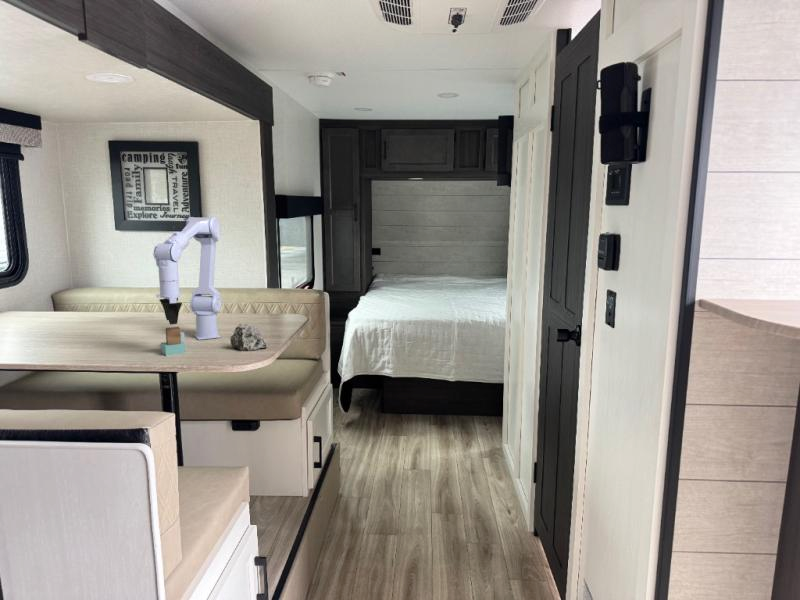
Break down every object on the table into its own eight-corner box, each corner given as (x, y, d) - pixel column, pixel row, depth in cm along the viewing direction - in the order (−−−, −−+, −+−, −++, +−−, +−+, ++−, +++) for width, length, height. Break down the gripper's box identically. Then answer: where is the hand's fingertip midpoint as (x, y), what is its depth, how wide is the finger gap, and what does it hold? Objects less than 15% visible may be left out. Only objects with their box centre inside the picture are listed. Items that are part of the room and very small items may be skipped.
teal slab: (161, 353, 175) (161, 342, 175) (180, 350, 179) (180, 340, 178) (166, 357, 171) (165, 346, 170) (185, 354, 174) (184, 343, 174)
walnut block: (166, 342, 175) (165, 327, 174) (179, 341, 177) (178, 326, 176) (167, 344, 172) (167, 329, 171) (181, 343, 174) (180, 328, 173)
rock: (232, 359, 173) (250, 335, 172) (220, 340, 179) (237, 318, 178) (261, 366, 184) (278, 344, 183) (249, 348, 190) (266, 327, 188)
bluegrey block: (168, 347, 182) (167, 332, 181) (179, 344, 185) (178, 331, 184) (174, 349, 180) (173, 334, 179) (185, 346, 183) (184, 332, 182)
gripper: (153, 278, 175) (156, 319, 177) (158, 284, 163) (161, 327, 165) (176, 277, 179) (178, 317, 181) (182, 282, 166) (185, 325, 168)
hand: (171, 321), depth 173 cm, fingers open, 7 cm apart
